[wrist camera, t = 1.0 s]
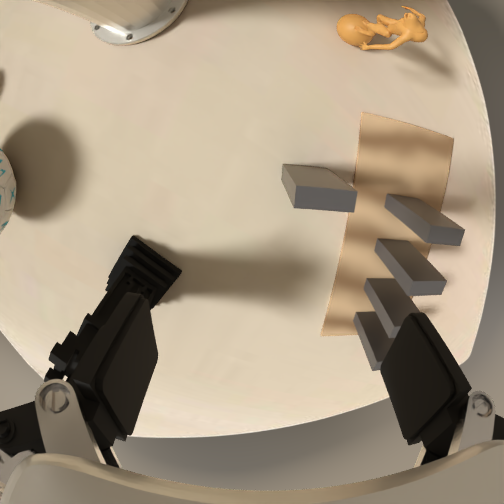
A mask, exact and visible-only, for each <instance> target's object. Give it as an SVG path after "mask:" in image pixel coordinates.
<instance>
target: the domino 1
mask: <svg viewBox="0 0 504 504" xmlns="http://www.w3.org/2000/svg"><path fill="white" fill-rule="evenodd" d="M281 180H282V182H283V184H284V187H285V189H286V191H287V193H288V196H289V198H290V200H291V203H292V205H293V207H294V208H301V209H315V210H328V211H340V212H351V213H354V211H355V205H356V199H357V193H358V191H357V190H355V189H354V188H353V187H351V186H350V185H349V184H347V183H346V182H345V181H343V180H342V179H341V178H339V177H338V176H337V175H335V174H334V173H333V172H331V171H330V170H328V169H327V168H320V167H310V166H300V165H287V164H283V166H282V179H281Z"/></svg>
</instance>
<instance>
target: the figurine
mask: <svg viewBox="0 0 504 504" xmlns="http://www.w3.org/2000/svg"><path fill="white" fill-rule="evenodd" d="M401 7H403V8H405V9H409V10H410V11H411V12H412V13H414V14H415V15H414V14H412V13H405V14H404V18H401V19H399V20H396V19H391V18H388V17H385V16H383V15H381V14H379V15H378V16H377V24H374V23H370V22H369V21H368V20H367V19H366V18H364V17H363V16H360V15H357V14H347V15H345V16H343V17H341V18H340V19H339V21H338V23H337V32H338V34H339V36H340V37H341V38H342V40H344V41H345V42H346V43H348V44H350V45H354V46H359V47H360V48H363V49H361V50H369V49H385V50H392V49H395V48H397V47H398V46H400V45H402V44H403V43H405V42H407V41H410V40H411V41H414V42H424V41H425V40H426V39H427V37H428V33H427V31H426V29H425V28H424V27H425V19H426V18H425V16H424V15H423V14H421V13H419V12H417V11H416V10H414V9H412V8H409V7H405V6H401ZM416 15H417V16H418V17H419V18H417V16H416ZM384 25H385V26H387V27H385V26H384ZM376 33H377V34H380V35H382V36H384V37H387V38H389V37H390V36H391V35H392V34H396V35H399V36H400V37H398V38H397V39H396V40H394V41H393V42H392V43H391V44H383V45H381V44H375V45H367V44H368V43H369V42H370V41H371V40H372V38H373V36H375V35H376Z"/></svg>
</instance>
